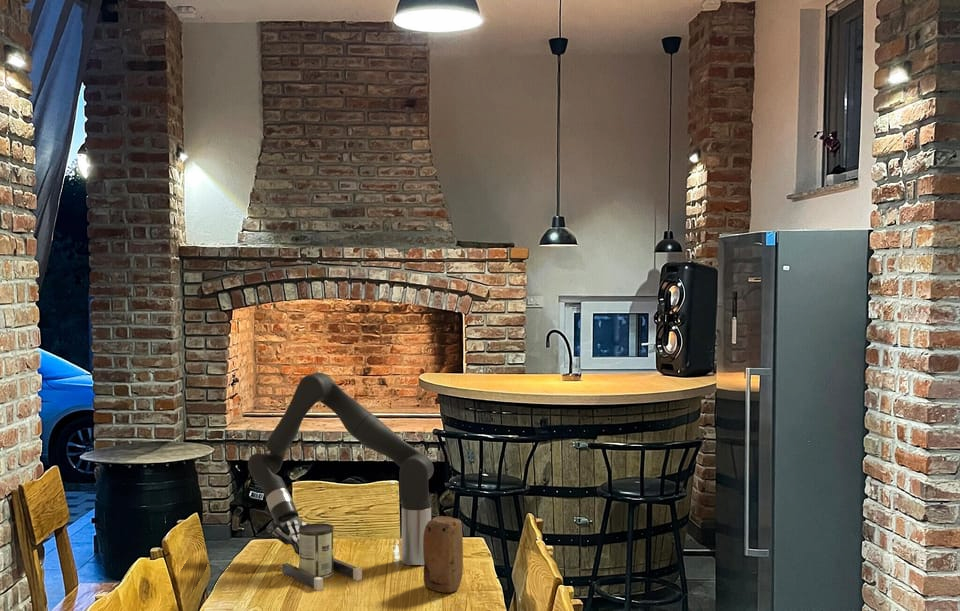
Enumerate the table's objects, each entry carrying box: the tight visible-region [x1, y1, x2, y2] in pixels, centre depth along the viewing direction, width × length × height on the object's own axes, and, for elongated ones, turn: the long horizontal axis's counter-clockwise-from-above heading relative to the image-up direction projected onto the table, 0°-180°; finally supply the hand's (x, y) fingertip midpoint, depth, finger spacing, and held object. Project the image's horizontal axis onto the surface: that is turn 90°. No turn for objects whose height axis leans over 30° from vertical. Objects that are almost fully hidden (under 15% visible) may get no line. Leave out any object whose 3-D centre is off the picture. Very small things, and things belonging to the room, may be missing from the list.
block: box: [423, 515, 464, 594], centre depth 248 cm, size 11×8×20 cm
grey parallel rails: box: [281, 557, 363, 592], centre depth 259 cm, size 15×20×3 cm
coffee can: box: [298, 522, 335, 580], centre depth 261 cm, size 10×10×14 cm
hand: (301, 553), depth 267 cm, fingers closed
